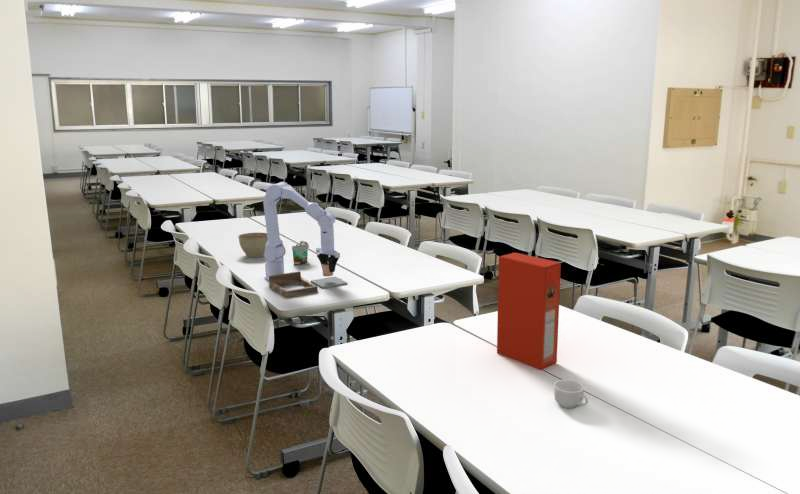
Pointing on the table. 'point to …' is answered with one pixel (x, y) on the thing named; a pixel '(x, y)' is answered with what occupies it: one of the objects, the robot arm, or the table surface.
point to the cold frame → (291, 278)
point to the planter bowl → (253, 244)
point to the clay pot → (326, 269)
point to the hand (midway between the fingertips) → (328, 270)
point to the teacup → (569, 393)
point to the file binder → (528, 309)
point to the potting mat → (328, 282)
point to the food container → (300, 253)
